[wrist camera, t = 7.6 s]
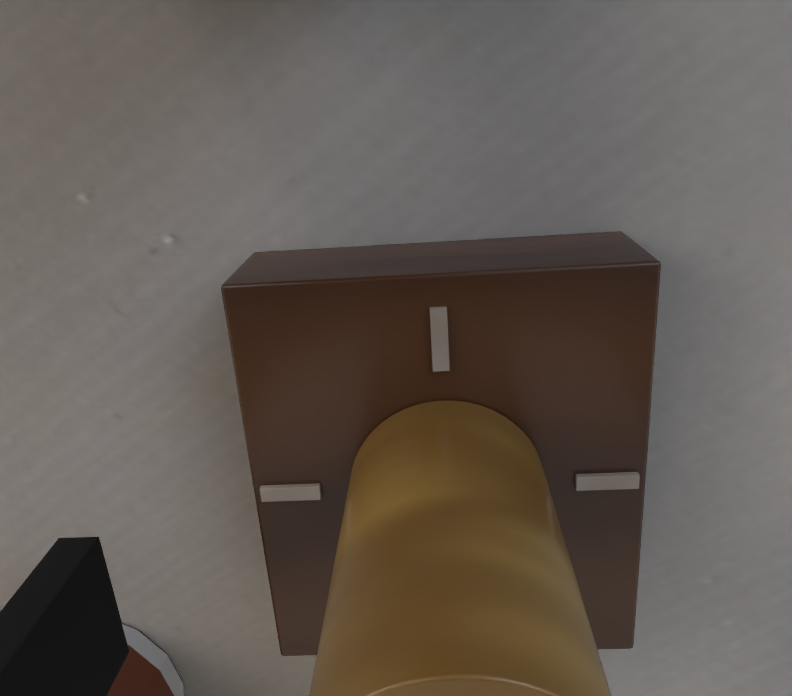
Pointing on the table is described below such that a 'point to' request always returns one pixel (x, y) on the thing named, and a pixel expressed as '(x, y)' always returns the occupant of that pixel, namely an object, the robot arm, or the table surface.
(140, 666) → the coffee cup
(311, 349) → the panel
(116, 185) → the table surface
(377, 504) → the dimmer knob
